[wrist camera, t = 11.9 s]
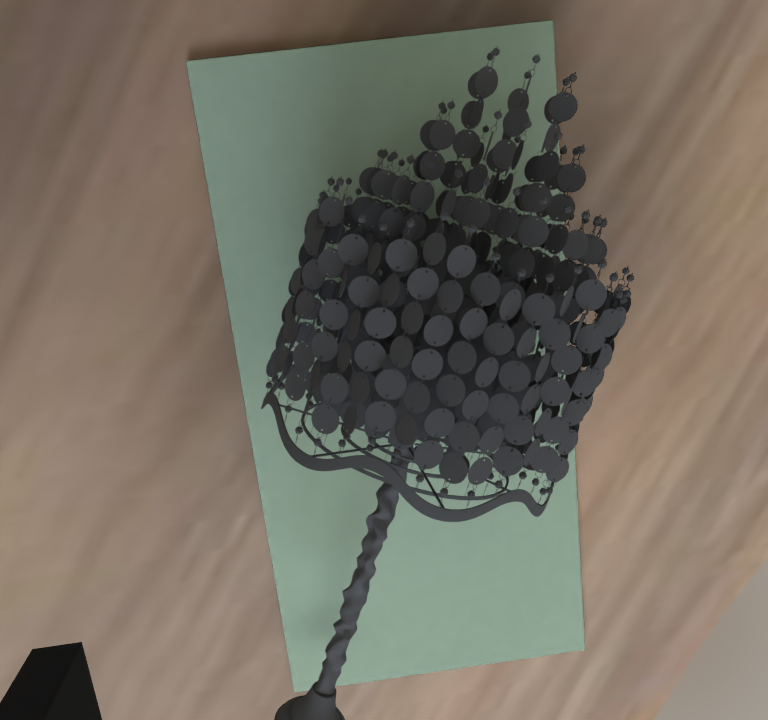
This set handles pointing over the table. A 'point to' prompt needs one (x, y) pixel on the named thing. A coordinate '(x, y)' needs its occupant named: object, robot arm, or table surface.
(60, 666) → the robot arm
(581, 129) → the table surface
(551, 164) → the dark grey tree model
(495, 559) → the desk mat
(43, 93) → the table surface
